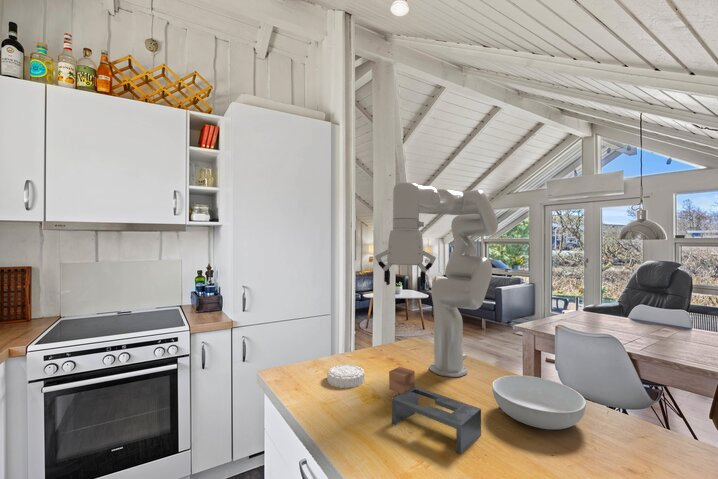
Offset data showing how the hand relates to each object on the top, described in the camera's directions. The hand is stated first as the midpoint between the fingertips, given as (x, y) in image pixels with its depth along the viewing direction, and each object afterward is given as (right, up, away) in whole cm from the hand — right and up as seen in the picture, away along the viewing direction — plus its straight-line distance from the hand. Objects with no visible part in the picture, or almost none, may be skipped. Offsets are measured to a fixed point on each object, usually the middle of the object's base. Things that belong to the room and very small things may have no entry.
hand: (404, 285), depth 99 cm
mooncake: (-17, -33, +11) cm, 39 cm away
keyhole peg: (-1, -32, -4) cm, 32 cm away
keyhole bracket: (+5, -32, -18) cm, 37 cm away
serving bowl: (+32, -32, -12) cm, 47 cm away
